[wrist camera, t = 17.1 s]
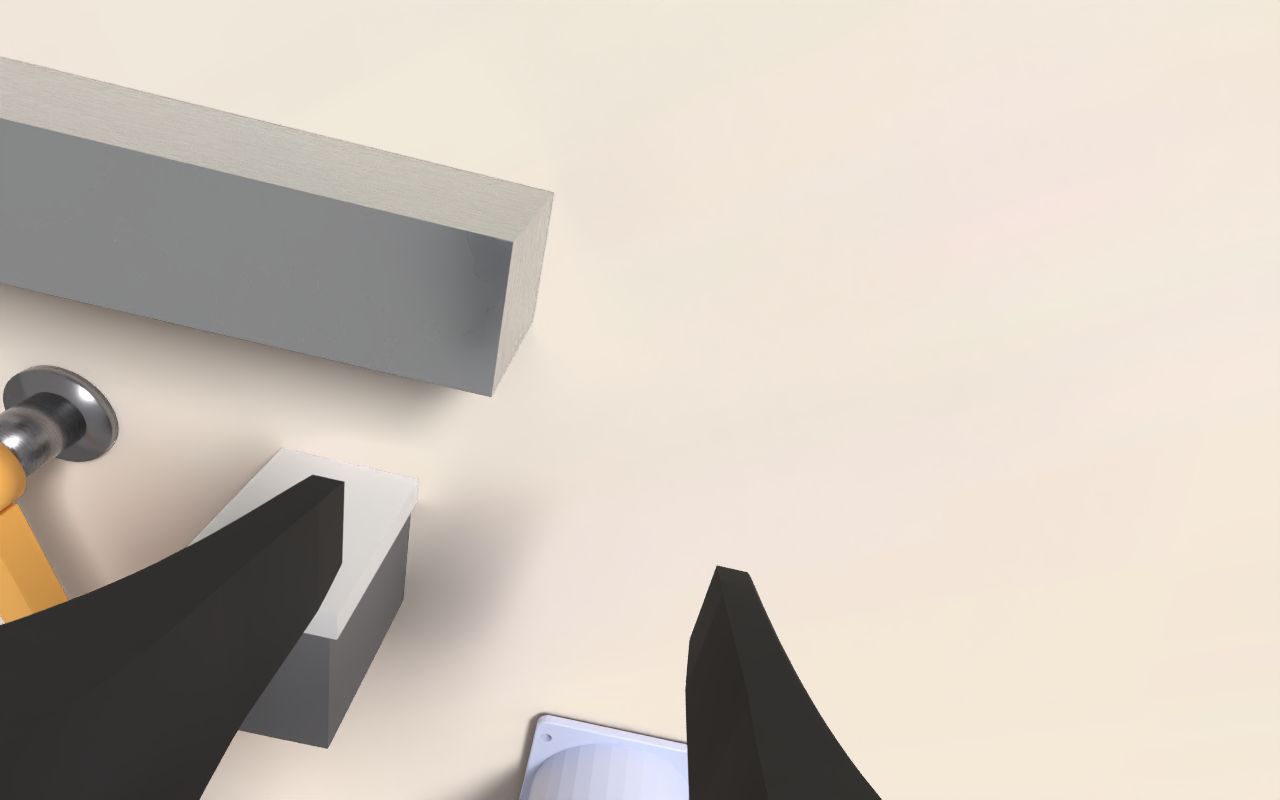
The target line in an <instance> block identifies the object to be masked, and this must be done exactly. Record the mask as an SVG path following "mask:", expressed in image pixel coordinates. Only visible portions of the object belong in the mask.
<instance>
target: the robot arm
mask: <svg viewBox="0 0 1280 800" xmlns="http://www.w3.org/2000/svg"><path fill="white" fill-rule="evenodd" d="M344 488H345V482H344V481H339V480H335V479H330V478H326V477H322V476H317V475H311V476H309V477H307V478H306V479H304V480H302V481H301V482H299V483H297V484H295V485H294V486H292V487H290V488H289V489H287V490H285V491H284V492H282V493H280V494H279V495H277V496H275V497H274V498H272V499H270V500H269V501H267V502H265V503H264V504H262V505H260V506H259V507H257V508H255V509H254V510H252V511H250V512H249V513H247V514H245V515H244V516H242V517H240V518H238V519H237V520H235V521H233V522H232V523H230V524H228V525H226V526H225V527H223V528H221V529H219V530H218V531H216V532H214V533H212V534H211V535H209V536H207V537H205V538H203V539H201V540H200V541H198V542H196V543H194V544H192V545H190V546H188V547H186V548H184V549H182V550H180V551H179V552H177V553H175V554H173V555H171V556H169V557H167V558H165V559H163V560H161V561H159V562H157V563H155V564H153V565H151V566H149V567H147V568H145V569H143V570H140V571H138V572H136V573H134V574H132V575H130V576H127V577H125V578H123V579H120V580H118V581H116V582H113V583H111V584H109V585H106V586H104V587H102V588H99V589H97V590H95V591H92V592H90V593H87V594H85V595H82V596H80V597H77V598H74V599H72V600H69V601H66V602H64V603H61V604H58V605H55V606H53V607H50V608H47V609H45V610H42V611H39V612H37V613H34V614H31V615H28V616H26V617H23V618H20V619H17V620H14V621H12V622H9V623H5V624H2V625H0V800H199V799H200V798H201V796H202V794H203V792H204V790H205V788H206V786H207V785H208V783H209V781H210V779H211V777H212V775H213V774H214V772H215V770H216V768H217V766H218V765H219V763H220V761H221V759H222V757H223V755H224V754H225V752H226V750H227V748H228V746H229V745H230V743H231V741H232V739H233V737H234V736H235V734H236V733H237V731H238V729H239V728H240V726H241V725H242V723H243V721H244V720H245V718H246V717H247V715H248V713H249V712H250V710H251V709H252V708H253V706H254V705H255V703H256V702H257V700H258V699H259V697H260V696H261V694H262V693H263V691H264V690H265V689H266V687H267V686H268V684H269V683H270V681H271V680H272V678H273V677H274V675H275V674H276V672H277V671H278V670H279V668H280V667H281V665H282V664H283V662H284V661H285V659H286V658H287V656H288V655H289V653H290V652H291V651H292V649H293V648H294V646H295V645H296V643H297V642H298V640H299V639H300V637H301V636H302V634H303V633H304V631H305V630H306V628H307V627H308V625H309V624H310V622H311V621H312V619H313V618H314V616H315V615H316V613H317V612H318V610H319V608H320V606H321V604H322V602H323V601H324V599H325V597H326V595H327V593H328V591H329V589H330V587H331V585H332V583H333V581H334V579H335V577H336V575H337V573H338V571H339V569H340V567H341V565H342V556H343V522H344ZM685 693H686V728H687V744H683V743H678V742H673V741H668V740H664V739H659V738H654V737H650V736H645V735H640V734H636V733H631V732H626V731H622V730H617V729H612V728H608V727H603V726H598V725H594V724H589V723H584V722H580V721H575V720H570V719H566V718H561V717H556V716H551V715H545V716H542V717H540V718H539V719H538V721H537V725H536V730H535V734H534V738H533V742H532V746H531V751H530V755H529V759H528V763H527V767H526V772H525V776H524V780H523V784H522V788H521V793H520V797H519V800H882V799H881V798H880V797H879V796H878V794H877V793H876V792H875V791H874V789H873V788H872V787H871V786H870V784H869V783H868V782H867V781H866V779H865V778H864V777H863V776H862V774H861V773H860V772H859V770H858V769H857V768H856V766H855V765H854V764H853V762H852V761H851V760H850V758H849V757H848V756H847V754H846V753H845V751H844V750H843V748H842V747H841V745H840V744H839V743H838V741H837V740H836V738H835V737H834V735H833V734H832V732H831V731H830V729H829V728H828V726H827V724H826V723H825V721H824V720H823V718H822V717H821V715H820V713H819V712H818V710H817V708H816V707H815V705H814V703H813V702H812V700H811V698H810V697H809V695H808V693H807V691H806V690H805V688H804V686H803V684H802V683H801V681H800V679H799V677H798V675H797V674H796V672H795V670H794V668H793V666H792V664H791V662H790V660H789V658H788V656H787V654H786V652H785V651H784V649H783V647H782V645H781V643H780V641H779V639H778V637H777V635H776V633H775V630H774V628H773V626H772V624H771V622H770V620H769V618H768V615H767V613H766V611H765V609H764V607H763V604H762V602H761V600H760V597H759V595H758V593H757V591H756V588H755V586H754V584H753V581H752V579H751V577H750V575H749V574H748V572H743V571H739V570H735V569H730V568H726V567H721V566H717V567H716V569H715V572H714V575H713V577H712V580H711V583H710V586H709V588H708V591H707V594H706V597H705V599H704V602H703V605H702V607H701V610H700V613H699V616H698V618H697V621H696V624H695V627H694V629H693V632H692V635H691V638H690V642H689V653H688V664H687V676H686V690H685Z"/></svg>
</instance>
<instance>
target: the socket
mask: <svg viewBox="0 0 1280 800" xmlns="http://www.w3.org/2000/svg"><path fill="white" fill-rule="evenodd" d="M553 195H554V193H553V192H549V191H545V190H541V189H537V188H532V187H528V186H524V185H520V184H516V183H512V182H508V181H504V180H500V179H496V178H492V177H488V176H484V175H480V174H475V173H471V172H467V171H463V170H459V169H455V168H451V167H447V166H443V165H439V164H435V163H431V162H427V161H422V160H418V159H414V158H410V157H406V156H402V155H398V154H394V153H390V152H386V151H382V150H378V149H374V148H370V147H365V146H361V145H357V144H353V143H349V142H345V141H341V140H337V139H333V138H329V137H325V136H321V135H317V134H313V133H308V132H304V131H300V130H296V129H292V128H288V127H284V126H280V125H276V124H272V123H268V122H264V121H260V120H256V119H251V118H247V117H243V116H239V115H235V114H231V113H227V112H223V111H219V110H215V109H211V108H207V107H203V106H199V105H194V104H190V103H186V102H182V101H178V100H174V99H170V98H166V97H162V96H158V95H154V94H150V93H146V92H142V91H137V90H133V89H129V88H125V87H121V86H117V85H113V84H109V83H105V82H101V81H97V80H93V79H89V78H84V77H80V76H76V75H72V74H68V73H64V72H60V71H56V70H52V69H48V68H44V67H40V66H36V65H32V64H27V63H23V62H19V61H15V60H11V59H7V58H3V57H0V283H2V284H6V285H11V286H15V287H19V288H23V289H28V290H32V291H36V292H41V293H45V294H49V295H54V296H58V297H62V298H67V299H71V300H75V301H79V302H84V303H88V304H92V305H97V306H101V307H105V308H110V309H114V310H118V311H122V312H127V313H131V314H135V315H140V316H144V317H148V318H153V319H157V320H161V321H166V322H170V323H174V324H178V325H183V326H187V327H191V328H196V329H200V330H204V331H209V332H213V333H217V334H222V335H226V336H230V337H234V338H239V339H243V340H247V341H252V342H256V343H260V344H265V345H269V346H273V347H277V348H282V349H286V350H290V351H295V352H299V353H303V354H308V355H312V356H316V357H321V358H325V359H329V360H333V361H338V362H342V363H346V364H351V365H355V366H359V367H364V368H368V369H372V370H377V371H381V372H385V373H389V374H394V375H398V376H402V377H407V378H411V379H415V380H420V381H424V382H428V383H433V384H437V385H441V386H445V387H450V388H454V389H458V390H463V391H467V392H471V393H476V394H480V395H484V396H488V397H492V395H493V393H494V391H495V390H496V388H497V386H498V384H499V382H500V380H501V378H502V377H503V375H504V373H505V371H506V369H507V367H508V366H509V364H510V362H511V360H512V358H513V356H514V355H515V353H516V351H517V349H518V347H519V345H520V344H521V342H522V340H523V338H524V336H525V334H526V333H527V331H528V329H529V327H530V325H531V323H532V322H533V316H534V310H535V304H536V298H537V292H538V286H539V280H540V274H541V268H542V262H543V256H544V249H545V243H546V237H547V231H548V225H549V219H550V213H551V207H552V201H553Z"/></svg>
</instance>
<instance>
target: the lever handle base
mask: <svg viewBox="0 0 1280 800" xmlns="http://www.w3.org/2000/svg"><path fill="white" fill-rule="evenodd" d="M3 402H4V407H5V410H6V411H4V412H2V413H1V414H0V443H2V444H3V445H4V446H5V447H7V448H8V449H9V450H10V451H11V452H12V453H13V454H14V455H15V457H16V458H17V459H18V461H19V462H20V464H21V465H22V467H23V469H24V472H25V475H26V477H27V476H28V475H30V474H31V473H32V472H34V471H35V470H37V469H38V468H40V467H41V466H43V465H44V464H46V463H47V462H48V461H50V460H51V459H53V458H54V457H56V458H59V459H63V460H67V461H75V462H83V461H89V460H92V459H95V458H97V457H99V456H100V455H102V454H103V453H104V452H106V451H107V450H108V449H110V448H111V447H112V446H113V444H114V443H115V441H116V439H117V435H118V422H117V418H116V415H115V413H114V411H113V409H112V407H111V405H110V404H109V402H108V400H107V399H106V398H105V397H104V395H103V394H102V393H101V392H100V391H99V390H98V389H97V388H96V387H94V386H93V385H92V384H91V383H90V382H88V381H87V380H85V379H84V378H82V377H81V376H79V375H77V374H75V373H73V372H71V371H68V370H66V369H62V368H59V367H54V366H35V367H31V368H28V369H26V370H24V371H22V372H20V373H19V374H17V375H15V376H14V377H12V378H11V379H10V380H9V381H8V383H7V384H6V386H5V389H4V393H3Z"/></svg>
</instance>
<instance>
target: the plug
mask: <svg viewBox="0 0 1280 800" xmlns="http://www.w3.org/2000/svg"><path fill="white" fill-rule="evenodd" d="M311 475H317V476H322V477H326V478H330V479H335V480H339V481H344V482H345V488H344V522H343V556H342V565H341V567H340V569H339V571H338V573H337V575H336V577H335V579H334V581H333V583H332V585H331V587H330V589H329V591H328V593H327V595H326V597H325V599H324V601H323V602H322V604H321V606H320V608H319V610H318V612H317V613H316V615H315V616H314V618H313V619H312V621H311V622H310V624H309V625H308V627H307V628H306V630H305V631H304V633H303V634H302V636H301V637H300V639H299V640H298V642H297V643H296V645H295V646H294V648H293V649H292V651H291V652H290V653H289V655H288V656H287V658H286V659H285V661H284V662H283V664H282V665H281V667H280V668H279V670H278V671H277V672H276V674H275V675H274V677H273V678H272V680H271V681H270V683H269V684H268V686H267V687H266V689H265V690H264V691H263V693H262V694H261V696H260V697H259V699H258V700H257V702H256V703H255V705H254V706H253V708H252V709H251V710H250V712H249V713H248V715H247V717H246V718H245V720H244V721H243V723H242V725H241V726H240V728H239V729H238V730H240V731H245V732H250V733H255V734H259V735H264V736H269V737H274V738H279V739H283V740H288V741H293V742H298V743H303V744H307V745H312V746H317V747H322V748H326V749H328V747H329V745H330V743H331V741H332V739H333V738H334V736H335V734H336V732H337V730H338V728H339V726H340V724H341V722H342V720H343V718H344V716H345V714H346V712H347V710H348V708H349V706H350V704H351V702H352V700H353V698H354V696H355V694H356V692H357V690H358V688H359V686H360V684H361V682H362V680H363V678H364V676H365V674H366V672H367V670H368V668H369V666H370V664H371V662H372V660H373V659H374V657H375V655H376V653H377V651H378V649H379V647H380V645H381V643H382V641H383V639H384V637H385V635H386V633H387V631H388V629H389V627H390V625H391V623H392V621H393V619H394V617H395V615H396V613H397V611H398V609H399V607H400V605H401V603H402V601H403V596H404V585H405V573H406V562H407V550H408V539H409V527H410V516H411V511H412V510H413V508H414V506H415V505H416V503H417V499H418V489H419V479H416V478H412V477H407V476H403V475H398V474H394V473H390V472H385V471H381V470H376V469H372V468H367V467H363V466H359V465H354V464H350V463H345V462H341V461H337V460H332V459H328V458H323V457H319V456H314V455H310V454H306V453H301V452H297V451H292V450H288V449H284V448H281V449H280V450H279V451H278V452H277V453H276V454H275V455H274V456H273V458H272V459H271V460H270V461H269V462H268V463H267V464H266V465H265V466H264V467H263V468H262V469H261V470H260V471H259V472H258V473H257V474H256V475H255V476H254V477H253V478H252V479H251V480H250V481H249V482H248V483H247V484H246V485H245V487H244V488H243V489H242V490H241V491H240V492H239V493H238V494H237V495H236V496H235V497H234V498H233V499H232V500H231V501H230V502H229V503H228V504H227V505H226V506H225V507H224V508H223V509H222V510H221V511H220V512H219V513H218V514H217V516H216V517H215V518H214V519H213V520H212V521H211V522H210V523H209V524H208V525H207V526H206V527H205V528H204V529H203V530H202V531H201V532H200V533H199V534H198V535H197V536H196V537H195V538H194V539H193V540H192V541H191V542H190V543H189V545H188V546H190V545H192V544H194V543H196V542H198V541H200V540H201V539H203V538H205V537H207V536H209V535H211V534H212V533H214V532H216V531H218V530H219V529H221V528H223V527H225V526H226V525H228V524H230V523H232V522H233V521H235V520H237V519H238V518H240V517H242V516H244V515H245V514H247V513H249V512H250V511H252V510H254V509H255V508H257V507H259V506H260V505H262V504H264V503H265V502H267V501H269V500H270V499H272V498H274V497H275V496H277V495H279V494H280V493H282V492H284V491H285V490H287V489H289V488H290V487H292V486H294V485H295V484H297V483H299V482H301V481H302V480H304V479H306V478H307V477H309V476H311ZM188 546H187V547H188Z"/></svg>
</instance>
